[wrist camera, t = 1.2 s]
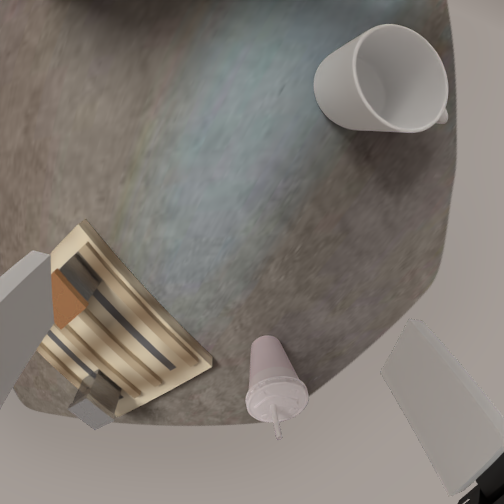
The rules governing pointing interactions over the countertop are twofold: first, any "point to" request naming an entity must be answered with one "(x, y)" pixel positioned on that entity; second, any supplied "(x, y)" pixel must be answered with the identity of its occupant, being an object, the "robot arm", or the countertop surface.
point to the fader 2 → (96, 400)
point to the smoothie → (273, 384)
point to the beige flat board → (120, 331)
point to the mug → (383, 82)
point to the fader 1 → (72, 289)
